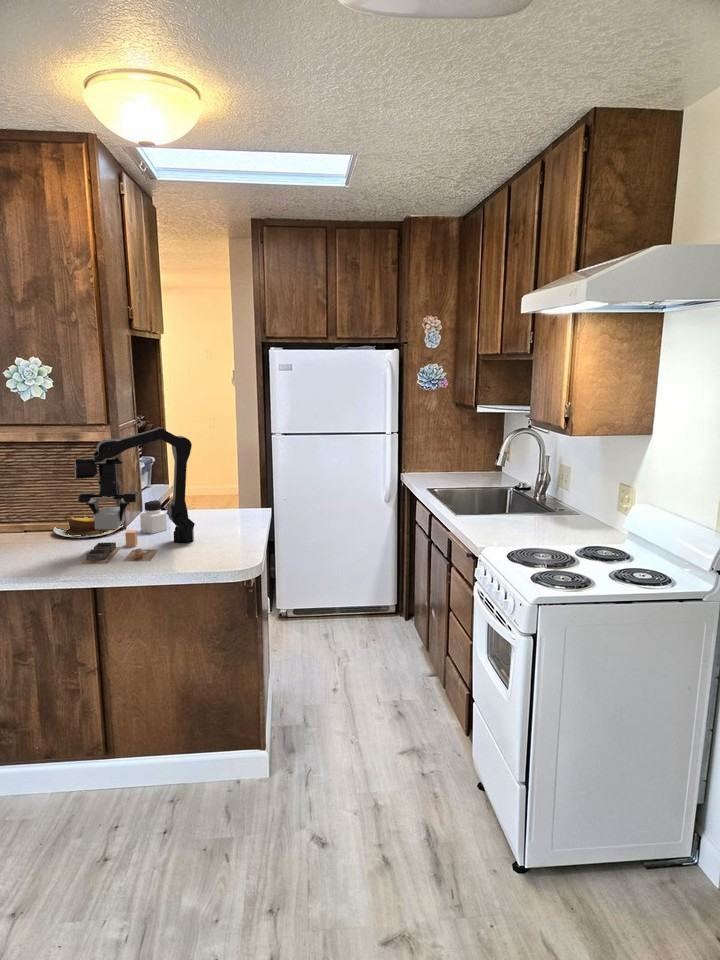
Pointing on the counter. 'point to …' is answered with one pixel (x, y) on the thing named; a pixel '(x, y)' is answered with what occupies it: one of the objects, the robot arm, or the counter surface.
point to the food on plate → (82, 528)
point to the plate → (149, 553)
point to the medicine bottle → (153, 518)
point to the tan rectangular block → (131, 538)
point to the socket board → (101, 553)
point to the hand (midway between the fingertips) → (110, 521)
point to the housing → (108, 518)
